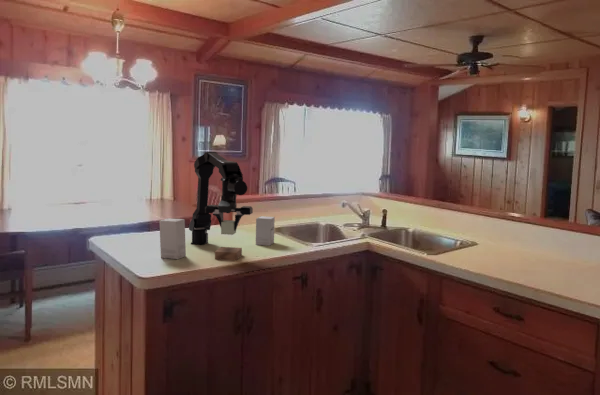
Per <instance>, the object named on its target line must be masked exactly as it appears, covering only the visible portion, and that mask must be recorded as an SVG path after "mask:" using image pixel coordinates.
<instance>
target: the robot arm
mask: <svg viewBox="0 0 600 395" xmlns="http://www.w3.org/2000/svg"><path fill="white" fill-rule="evenodd" d="M193 166H194V173H195V175H196V176H197V191H196V192H197V193H196V194H197V197H196V209H195V210H194V212H193V213H192V218H191V220H190V222H189V223H188V224H189V225H188V230H189V231H191V242H190V245H203V246H204V245H206V244H207V243H209V233H208V231H210V230H211V225H212V216H215V218H217V221H218V224H219V226H220V228H221V222H222V221H224V214H225V213H226V214H230V213H236V214H234V221H235V225H234V231H236V232H237V229H238V225H239V223H240V221H241V219H242V218H243V217H244V216H246V215H247V216H250V215H252V214H253V210H254V209H253V207H252V206H250V205H249V206H248V205H243V206H241V207H237V205H238V204H237V197H238V196H244V195H245V194H246V193H247V191H248V185H247V183H246V182H245V181H244V177H243V176H244V175H243V172H242V170H241V168H240V164H239V163H238V162H237V161H232V160H227V159H225V157H223V156H221V155H220V154H218V152H216V151H205V152H204V153H203V154H201V156H198V157H197V158H196V160H195V161H194V163H193ZM215 167H216V168H217V169H218V173H219V174H220V176H221V178H220V181H221V196H220V197H221V198H220V201H219V203H218V204H208V203H209V185H210V181H209V180H210V178H211V177H212V176H213V174H214V169H215ZM211 214H212V215H211Z"/></svg>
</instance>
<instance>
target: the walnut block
mask: <svg viewBox="0 0 600 395" xmlns="http://www.w3.org/2000/svg"><path fill="white" fill-rule="evenodd" d="M242 255H243V250H242V247H232V246H231V247H229V246H220V247H219V248H218V249H216V250H215V251H214V260H221V261H222V260H223V261H224V260H225V261H237V260H238V259H239V258H240V257H241V256H242Z"/></svg>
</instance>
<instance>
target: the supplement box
mask: <svg viewBox="0 0 600 395" xmlns="http://www.w3.org/2000/svg"><path fill="white" fill-rule="evenodd" d="M274 243H275V216H262V215H261V216H259V217H256V219H255V245H258V246H259V245H260V246H271V245H272V244H274Z"/></svg>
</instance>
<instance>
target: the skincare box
mask: <svg viewBox="0 0 600 395" xmlns="http://www.w3.org/2000/svg"><path fill="white" fill-rule="evenodd" d="M159 239H160V241H159V242H160V247H159V248H160V258H162V259H170V260H171V259H172V260H180V259H182V258H184V257H186V256H187V251H186V247H187V246H186V220H185V219H184V218H170V217H169V218H165V219H161V220H159Z"/></svg>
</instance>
